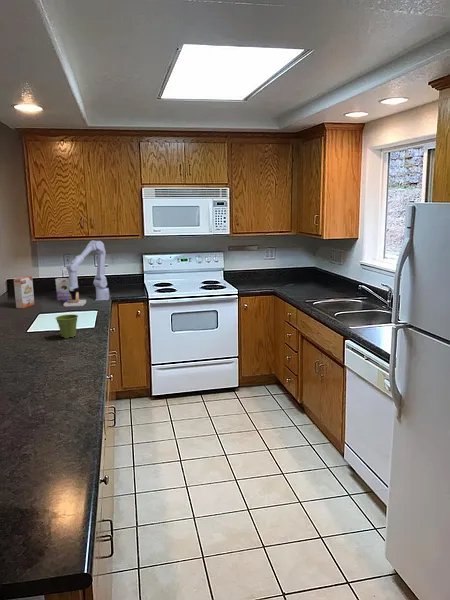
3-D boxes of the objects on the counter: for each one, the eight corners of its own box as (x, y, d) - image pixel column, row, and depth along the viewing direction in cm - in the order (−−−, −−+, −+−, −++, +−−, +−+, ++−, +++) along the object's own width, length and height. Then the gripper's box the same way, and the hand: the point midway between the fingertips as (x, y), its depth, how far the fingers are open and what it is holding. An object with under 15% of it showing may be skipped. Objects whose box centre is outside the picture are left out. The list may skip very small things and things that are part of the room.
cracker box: (23, 308, 340) (20, 279, 336) (16, 308, 342) (12, 279, 337) (35, 304, 354) (32, 276, 350) (27, 304, 355) (24, 275, 351)
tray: (86, 302, 359) (86, 299, 358) (82, 306, 346) (82, 303, 346) (68, 302, 358) (67, 300, 357) (63, 306, 345) (63, 303, 345)
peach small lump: (79, 301, 354) (79, 291, 353) (78, 302, 349) (77, 293, 348) (72, 301, 354) (72, 291, 352) (70, 302, 349) (70, 293, 348)
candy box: (77, 299, 371) (75, 277, 368) (74, 300, 365) (72, 278, 362) (60, 299, 372) (58, 277, 369) (56, 300, 367) (54, 279, 363)
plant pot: (71, 332, 275) (70, 313, 273) (84, 336, 268) (82, 316, 265) (52, 337, 266) (50, 317, 264) (65, 341, 259) (63, 320, 257)
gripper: (70, 278, 355) (71, 297, 358) (65, 282, 341) (66, 301, 344) (79, 278, 356) (81, 297, 358) (75, 281, 342) (76, 300, 344)
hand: (74, 299), depth 351 cm, fingers closed on peach small lump, 5 cm apart
